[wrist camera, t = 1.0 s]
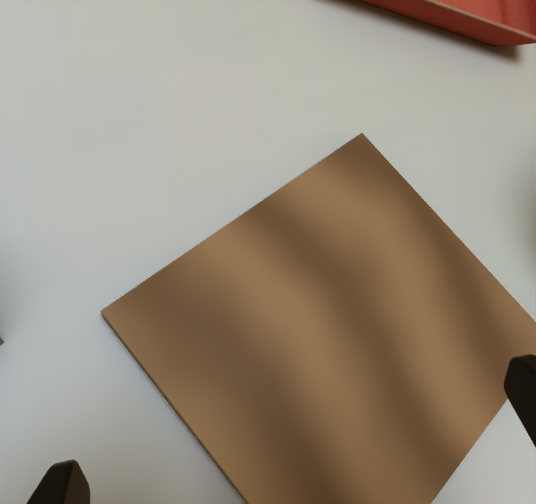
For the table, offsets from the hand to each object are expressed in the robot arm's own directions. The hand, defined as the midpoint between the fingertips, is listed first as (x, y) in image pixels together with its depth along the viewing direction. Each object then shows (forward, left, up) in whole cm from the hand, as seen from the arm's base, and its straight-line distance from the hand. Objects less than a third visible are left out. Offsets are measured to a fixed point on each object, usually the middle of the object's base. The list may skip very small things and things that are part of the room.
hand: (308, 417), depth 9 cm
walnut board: (+8, -1, -13) cm, 15 cm away
